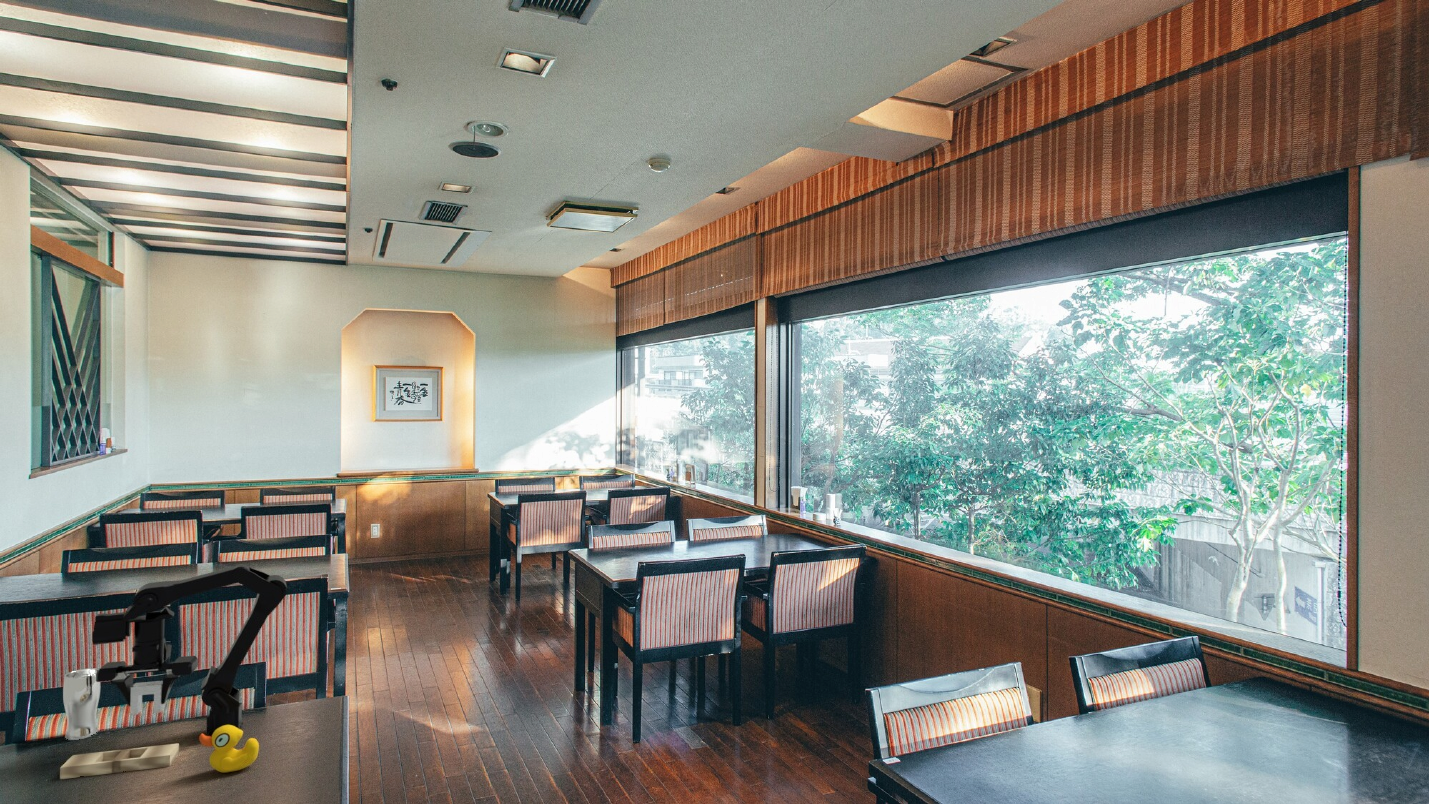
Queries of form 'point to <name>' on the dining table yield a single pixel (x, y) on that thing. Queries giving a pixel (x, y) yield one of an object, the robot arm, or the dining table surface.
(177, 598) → the robot arm
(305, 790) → the dining table surface
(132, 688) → the clip
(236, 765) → the duckling
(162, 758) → the rail
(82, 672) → the beer glass
